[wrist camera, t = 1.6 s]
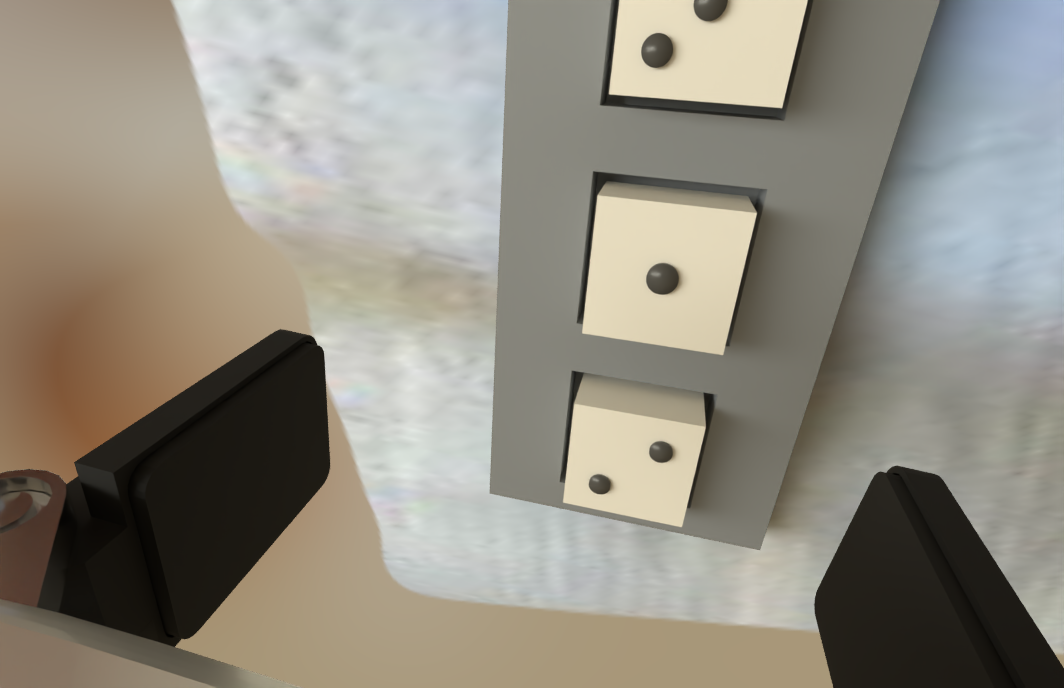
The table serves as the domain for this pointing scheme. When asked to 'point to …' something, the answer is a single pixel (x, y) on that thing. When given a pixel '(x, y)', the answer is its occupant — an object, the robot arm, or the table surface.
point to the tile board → (702, 165)
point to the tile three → (706, 50)
